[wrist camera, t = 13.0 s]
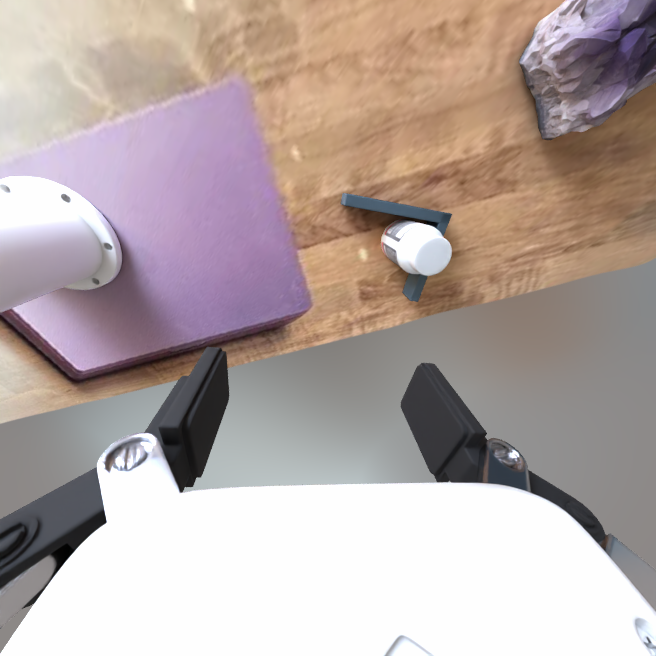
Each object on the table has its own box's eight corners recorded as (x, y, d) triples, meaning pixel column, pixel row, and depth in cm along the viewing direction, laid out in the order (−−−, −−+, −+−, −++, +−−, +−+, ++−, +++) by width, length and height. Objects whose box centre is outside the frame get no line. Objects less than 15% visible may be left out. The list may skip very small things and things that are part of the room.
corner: (327, 283, 34) (329, 291, 32) (342, 193, 28) (346, 193, 26) (409, 293, 36) (417, 301, 34) (438, 211, 31) (452, 213, 28)
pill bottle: (412, 260, 34) (448, 283, 25) (376, 258, 33) (401, 281, 25) (422, 219, 31) (467, 230, 23) (384, 217, 30) (415, 227, 22)
